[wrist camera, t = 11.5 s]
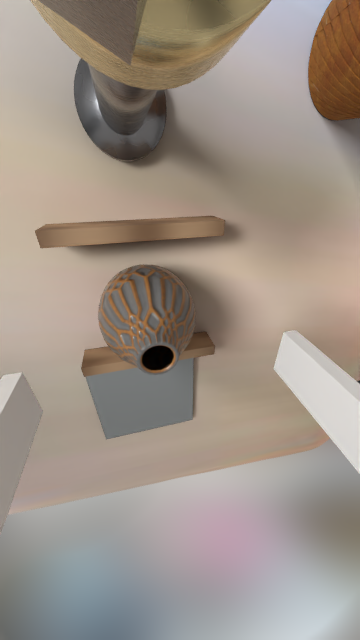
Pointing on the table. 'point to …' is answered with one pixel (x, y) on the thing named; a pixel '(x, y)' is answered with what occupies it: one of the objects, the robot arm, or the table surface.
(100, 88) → the post
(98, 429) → the table surface
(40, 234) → the cradle
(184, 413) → the mat
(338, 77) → the disposable coffee cup
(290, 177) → the table surface
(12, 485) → the robot arm
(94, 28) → the latch
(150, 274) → the vase
